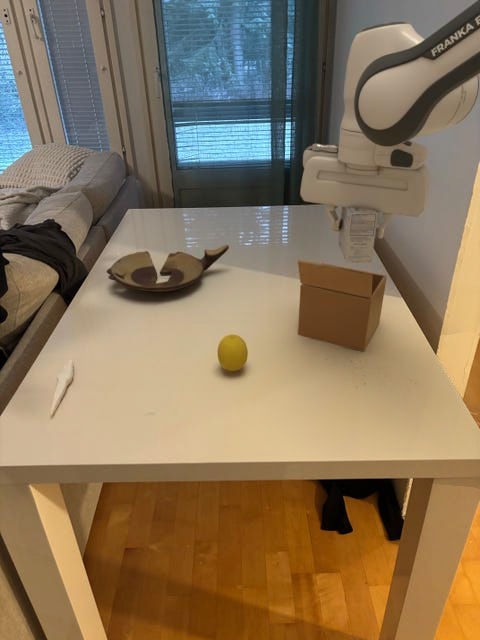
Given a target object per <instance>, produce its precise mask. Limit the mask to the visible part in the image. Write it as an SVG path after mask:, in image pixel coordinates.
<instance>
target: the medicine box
mask: <svg viewBox="0 0 480 640" xmlns="http://www.w3.org/2000/svg"><path fill="white" fill-rule="evenodd" d="M340 213H341V215H340V219H343V220H342V228H341V230H340V231H338V233H339V234H338V246H339V248H340V251H341V253H342V255H343V257H344V260H345V262H346V263H371V262H372V261H373V255H374V248H375V239H376V238H375V233H376V225H377V224H378V216H379V212H377V211H376V210H371V209H364V208H355V207H341V211H340Z"/></svg>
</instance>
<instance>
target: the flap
mask: <svg viewBox="0 0 480 640" xmlns="http://www.w3.org/2000/svg"><path fill="white" fill-rule="evenodd" d="M297 265H298V267H297V268H298V275H299V282H300V284H301V285H302V284H307V285H311V286H316V287H321V288H325V289H330V290H335V291H339V292H344V293H349V294H353V295H358V296H362V297H367V298H371V297H372V274H369V273H364V272H359V271H353V270H348V269H343V268H338V267H333V266H327V265H322V264H321V263H316V262H312V261H306V260H302V259H298V260H297Z"/></svg>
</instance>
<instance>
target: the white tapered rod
mask: <svg viewBox="0 0 480 640" xmlns="http://www.w3.org/2000/svg"><path fill="white" fill-rule="evenodd" d="M73 364H74V360H73V359H71V358H69V359H68V361H67V363H66V364H65V365H64V367H62V370H61V371H60V372H59V373H58V374H57V376H56V382H57V384H56V387H55V390H54V395H53V400H52V404H51V409H50V414H49V415H50V416H52V415H54V413H55V412H56V410H57V408H58V406H59V405H60V403H61V400H62V398H63V397H64V395H65V393H66V391H67V388H68V386H69V385H70V384H71V383H72V381H73V379H74V372H75V370H74V366H73Z"/></svg>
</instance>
